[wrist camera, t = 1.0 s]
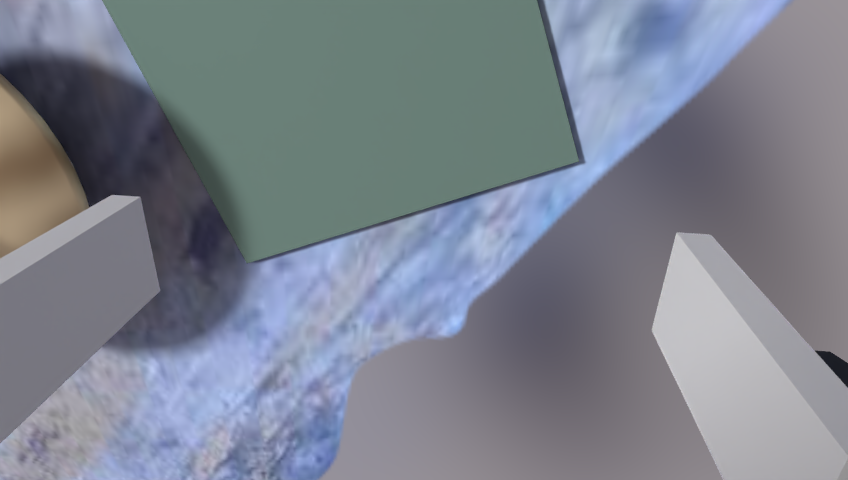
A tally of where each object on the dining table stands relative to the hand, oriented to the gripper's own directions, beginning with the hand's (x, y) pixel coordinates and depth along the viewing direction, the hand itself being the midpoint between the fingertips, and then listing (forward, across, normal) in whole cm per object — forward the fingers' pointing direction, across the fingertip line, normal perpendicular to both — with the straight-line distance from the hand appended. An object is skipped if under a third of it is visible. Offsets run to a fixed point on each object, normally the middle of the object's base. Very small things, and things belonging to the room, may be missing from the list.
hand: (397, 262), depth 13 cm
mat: (+27, -9, +3) cm, 29 cm away
